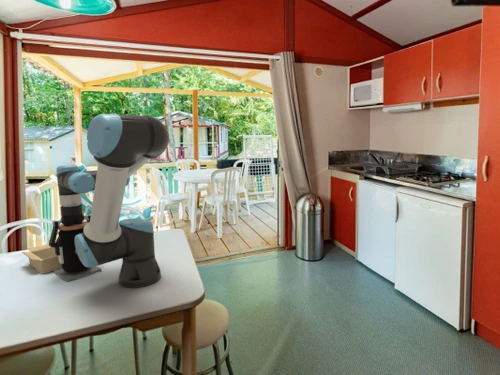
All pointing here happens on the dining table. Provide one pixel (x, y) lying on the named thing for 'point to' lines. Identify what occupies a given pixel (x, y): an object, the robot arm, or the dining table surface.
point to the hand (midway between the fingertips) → (76, 258)
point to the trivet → (76, 273)
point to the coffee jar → (71, 247)
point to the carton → (43, 258)
